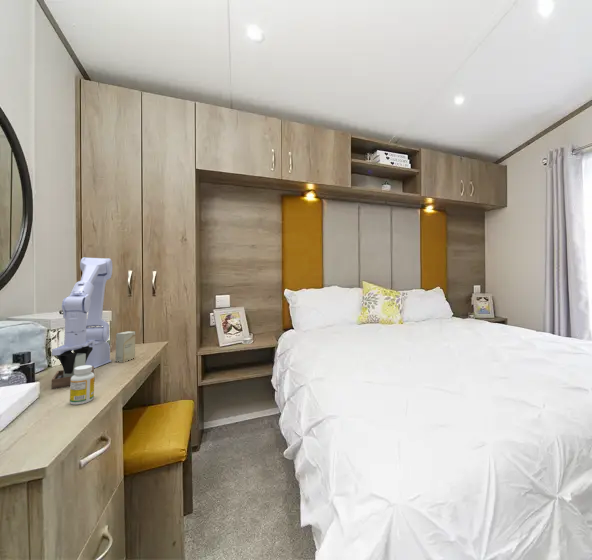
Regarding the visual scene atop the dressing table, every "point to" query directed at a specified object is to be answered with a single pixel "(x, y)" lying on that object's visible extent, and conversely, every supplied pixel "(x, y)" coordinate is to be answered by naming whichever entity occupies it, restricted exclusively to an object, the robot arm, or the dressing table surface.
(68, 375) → the sage peg
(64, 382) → the bore box
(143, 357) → the dressing table surface
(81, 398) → the supplement bottle
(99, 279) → the robot arm
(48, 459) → the dressing table surface
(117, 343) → the skincare box
